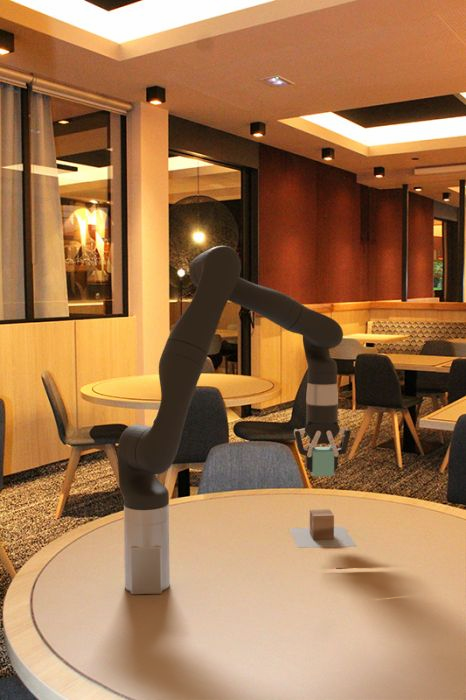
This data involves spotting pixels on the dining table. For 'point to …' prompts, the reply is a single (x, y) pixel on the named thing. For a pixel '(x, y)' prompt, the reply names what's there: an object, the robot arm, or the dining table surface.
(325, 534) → the walnut brick
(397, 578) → the dining table surface
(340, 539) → the plate
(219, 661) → the dining table surface
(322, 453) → the teal brick
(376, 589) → the dining table surface
